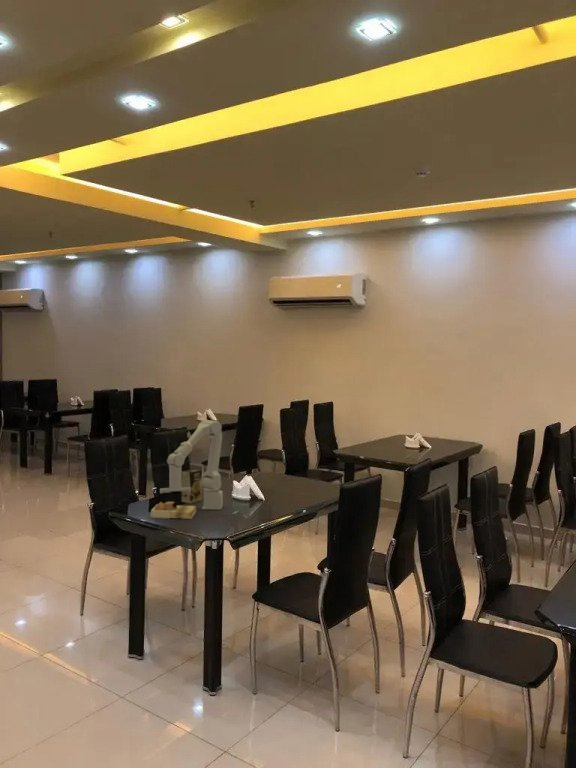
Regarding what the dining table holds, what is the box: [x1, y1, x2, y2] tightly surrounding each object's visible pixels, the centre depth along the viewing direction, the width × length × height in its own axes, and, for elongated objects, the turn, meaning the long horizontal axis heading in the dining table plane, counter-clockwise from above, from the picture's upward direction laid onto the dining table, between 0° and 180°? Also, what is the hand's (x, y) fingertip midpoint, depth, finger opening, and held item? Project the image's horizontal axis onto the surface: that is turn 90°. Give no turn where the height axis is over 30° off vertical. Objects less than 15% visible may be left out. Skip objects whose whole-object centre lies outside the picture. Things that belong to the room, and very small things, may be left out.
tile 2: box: [163, 501, 175, 509], centre depth 297 cm, size 4×4×2 cm
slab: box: [169, 505, 197, 520], centre depth 295 cm, size 10×13×3 cm
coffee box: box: [181, 468, 203, 504], centre depth 324 cm, size 9×6×16 cm
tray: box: [150, 503, 172, 519], centre depth 295 cm, size 9×13×4 cm
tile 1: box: [154, 501, 167, 510], centre depth 296 cm, size 4×4×2 cm
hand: (175, 507), depth 295 cm, fingers closed, pressing on tile 2
